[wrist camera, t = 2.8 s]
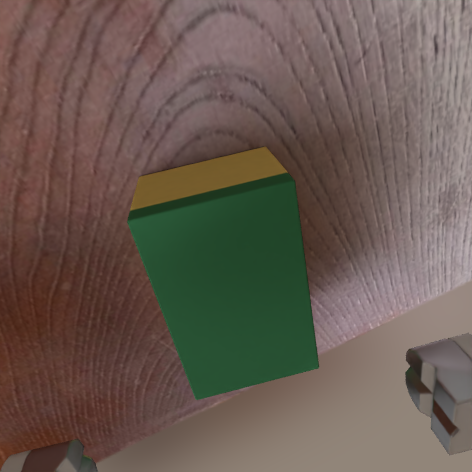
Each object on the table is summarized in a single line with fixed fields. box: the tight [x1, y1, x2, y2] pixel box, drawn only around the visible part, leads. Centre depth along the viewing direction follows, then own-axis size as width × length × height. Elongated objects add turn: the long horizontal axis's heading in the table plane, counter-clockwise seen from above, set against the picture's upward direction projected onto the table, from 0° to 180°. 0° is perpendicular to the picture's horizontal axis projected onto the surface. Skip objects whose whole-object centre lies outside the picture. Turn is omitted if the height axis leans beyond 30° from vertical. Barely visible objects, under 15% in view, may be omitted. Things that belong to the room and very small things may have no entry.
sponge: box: [127, 147, 319, 400], centre depth 14 cm, size 8×5×4 cm, turn 11°
